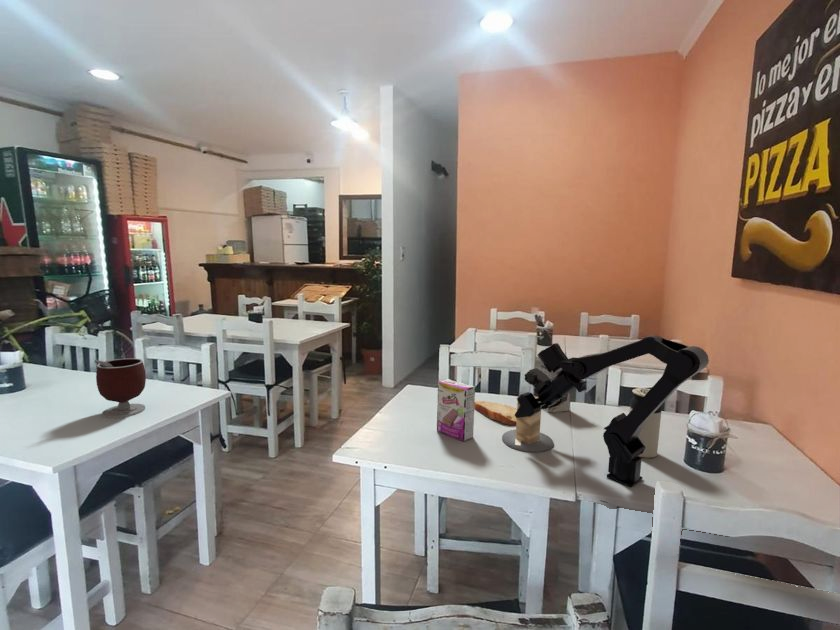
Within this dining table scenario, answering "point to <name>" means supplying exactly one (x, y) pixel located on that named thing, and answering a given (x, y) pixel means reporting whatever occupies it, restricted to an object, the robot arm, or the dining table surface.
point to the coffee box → (561, 407)
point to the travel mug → (648, 425)
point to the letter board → (537, 446)
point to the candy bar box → (455, 409)
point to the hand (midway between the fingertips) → (524, 412)
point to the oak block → (528, 427)
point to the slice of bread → (497, 412)
